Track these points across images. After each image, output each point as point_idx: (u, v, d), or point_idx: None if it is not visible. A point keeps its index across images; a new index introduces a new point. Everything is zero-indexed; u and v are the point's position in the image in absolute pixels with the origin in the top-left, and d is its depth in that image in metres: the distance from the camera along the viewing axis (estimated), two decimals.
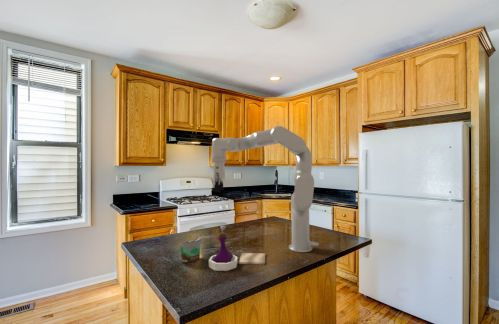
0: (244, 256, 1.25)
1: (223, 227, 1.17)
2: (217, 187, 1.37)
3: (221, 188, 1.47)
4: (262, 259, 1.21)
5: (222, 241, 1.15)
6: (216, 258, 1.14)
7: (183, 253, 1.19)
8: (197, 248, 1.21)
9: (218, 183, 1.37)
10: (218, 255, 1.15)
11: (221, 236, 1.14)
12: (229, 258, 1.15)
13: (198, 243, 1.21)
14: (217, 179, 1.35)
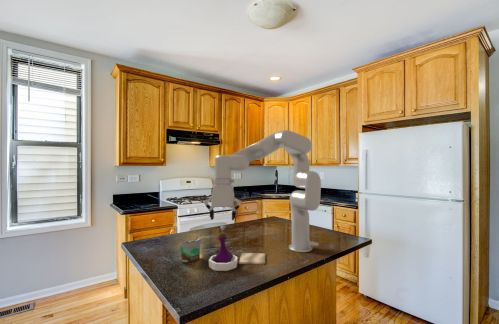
0: (244, 256, 1.25)
1: (223, 227, 1.17)
2: (235, 214, 1.17)
3: (213, 216, 1.18)
4: (262, 259, 1.21)
5: (222, 241, 1.15)
6: (216, 258, 1.14)
7: (183, 253, 1.19)
8: (197, 248, 1.21)
9: None
10: (218, 255, 1.15)
11: (221, 236, 1.14)
12: (229, 258, 1.15)
13: (198, 243, 1.21)
14: None
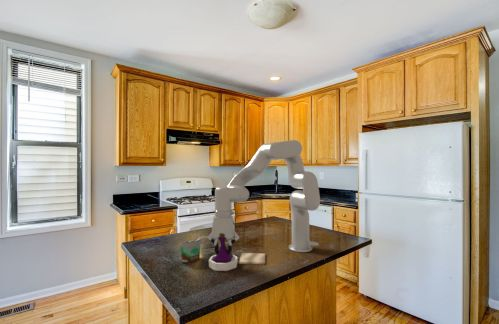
0: (244, 256, 1.25)
1: None
2: (231, 247, 1.17)
3: (218, 250, 1.18)
4: (262, 259, 1.21)
5: (222, 241, 1.15)
6: (216, 258, 1.14)
7: (183, 253, 1.19)
8: (197, 248, 1.21)
9: None
10: (218, 255, 1.15)
11: (221, 236, 1.14)
12: (229, 258, 1.15)
13: (198, 243, 1.21)
14: None
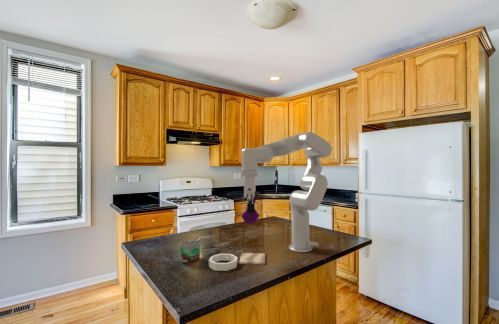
0: (244, 256, 1.25)
1: None
2: None
3: None
4: (262, 259, 1.21)
5: None
6: (256, 215, 1.21)
7: (183, 253, 1.19)
8: (197, 248, 1.21)
9: None
10: (255, 212, 1.22)
11: (257, 194, 1.24)
12: None
13: (198, 243, 1.21)
14: None
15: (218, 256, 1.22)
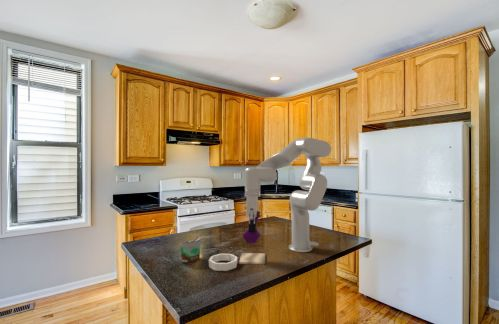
0: (244, 256, 1.25)
1: None
2: None
3: None
4: (262, 259, 1.21)
5: (257, 218, 1.24)
6: (257, 235, 1.21)
7: (183, 253, 1.19)
8: (197, 248, 1.21)
9: None
10: (256, 232, 1.22)
11: (259, 213, 1.24)
12: None
13: (198, 243, 1.21)
14: None
15: (218, 256, 1.22)
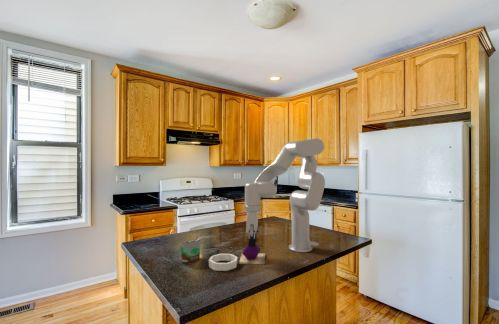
0: (244, 256, 1.25)
1: None
2: None
3: None
4: (262, 259, 1.21)
5: None
6: (257, 251, 1.21)
7: (183, 253, 1.19)
8: (197, 248, 1.21)
9: None
10: (256, 248, 1.22)
11: None
12: None
13: (198, 243, 1.21)
14: None
15: (218, 256, 1.22)
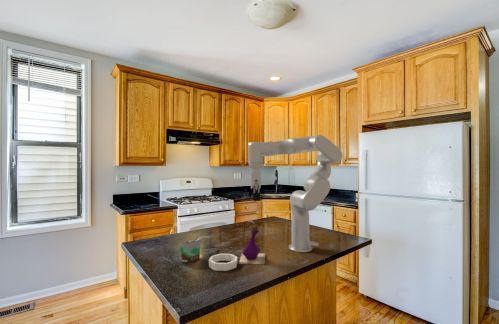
0: (244, 256, 1.25)
1: None
2: None
3: None
4: (262, 259, 1.21)
5: None
6: (257, 251, 1.21)
7: (183, 253, 1.19)
8: (197, 248, 1.21)
9: None
10: (256, 248, 1.22)
11: (257, 229, 1.23)
12: None
13: (198, 243, 1.21)
14: None
15: (218, 256, 1.22)
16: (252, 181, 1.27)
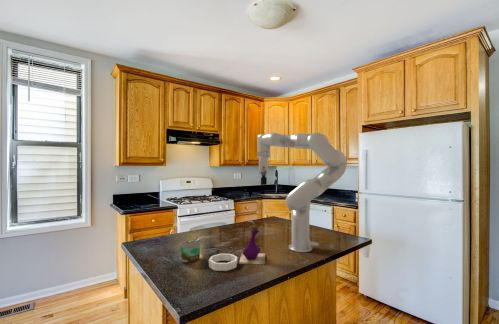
0: (244, 256, 1.25)
1: None
2: None
3: None
4: (262, 259, 1.21)
5: None
6: (257, 251, 1.21)
7: (183, 253, 1.19)
8: (197, 248, 1.21)
9: None
10: (256, 248, 1.22)
11: (257, 229, 1.23)
12: None
13: (198, 243, 1.21)
14: None
15: (218, 256, 1.22)
16: (260, 167, 1.46)
